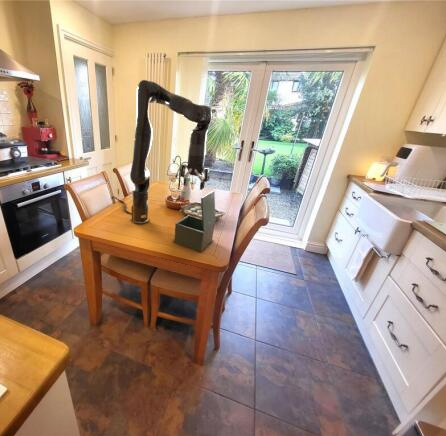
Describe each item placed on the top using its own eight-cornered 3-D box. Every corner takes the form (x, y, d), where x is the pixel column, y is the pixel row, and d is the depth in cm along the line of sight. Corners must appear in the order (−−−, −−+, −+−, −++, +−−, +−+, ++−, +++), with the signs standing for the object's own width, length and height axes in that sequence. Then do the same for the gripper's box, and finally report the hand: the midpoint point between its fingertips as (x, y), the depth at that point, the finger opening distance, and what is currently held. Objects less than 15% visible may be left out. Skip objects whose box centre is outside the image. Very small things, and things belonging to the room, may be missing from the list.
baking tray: (172, 213, 157) (173, 205, 155) (192, 205, 172) (192, 198, 169) (210, 228, 139) (212, 220, 137) (228, 217, 154) (230, 210, 151)
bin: (174, 241, 123) (175, 223, 119) (186, 232, 134) (188, 214, 129) (200, 251, 116) (203, 232, 111) (212, 240, 126) (214, 222, 121)
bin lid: (200, 198, 105) (202, 198, 105) (212, 190, 116) (214, 190, 115) (202, 231, 111) (204, 232, 110) (214, 221, 121) (215, 222, 121)
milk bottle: (189, 202, 176) (191, 176, 168) (190, 206, 169) (193, 179, 161) (179, 202, 176) (181, 176, 168) (180, 206, 169) (182, 179, 161)
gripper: (214, 154, 106) (210, 188, 113) (187, 150, 113) (184, 183, 120) (207, 156, 100) (203, 192, 107) (179, 152, 107) (176, 186, 114)
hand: (193, 187), depth 114 cm, fingers open, 8 cm apart
